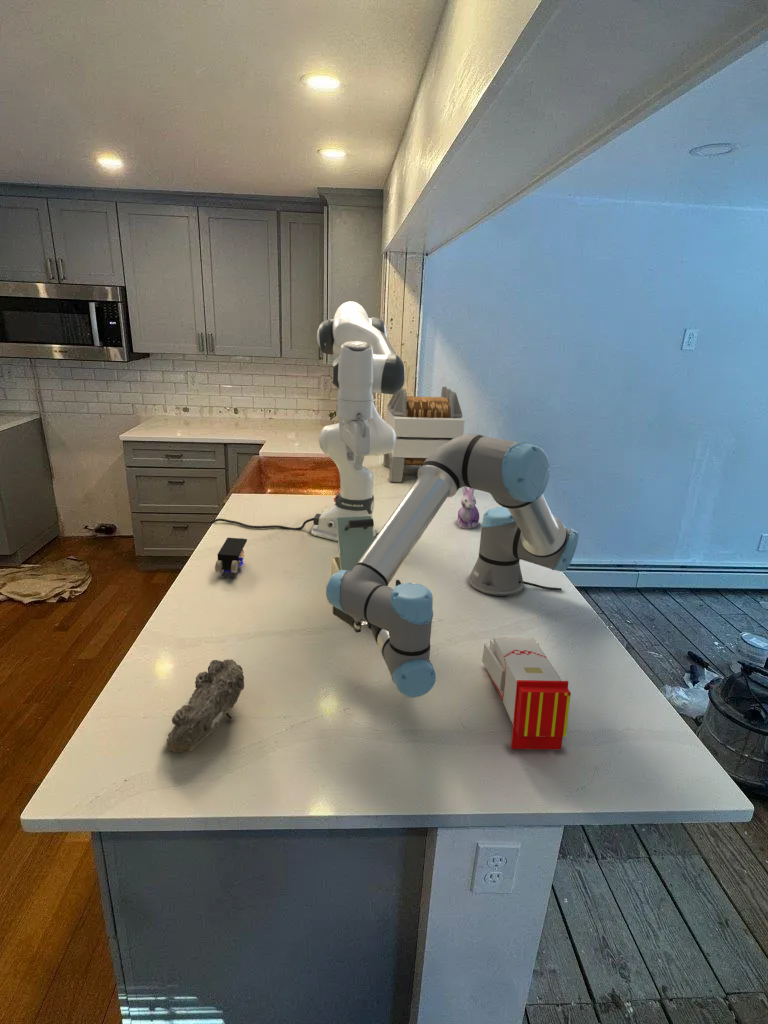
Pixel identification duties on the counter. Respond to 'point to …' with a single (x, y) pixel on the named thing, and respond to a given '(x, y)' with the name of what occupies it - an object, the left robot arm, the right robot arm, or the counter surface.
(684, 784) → the counter surface
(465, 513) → the figurine
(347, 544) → the lid
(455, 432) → the transformer
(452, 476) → the right robot arm
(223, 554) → the figurine character
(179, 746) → the fossil
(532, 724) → the toy
